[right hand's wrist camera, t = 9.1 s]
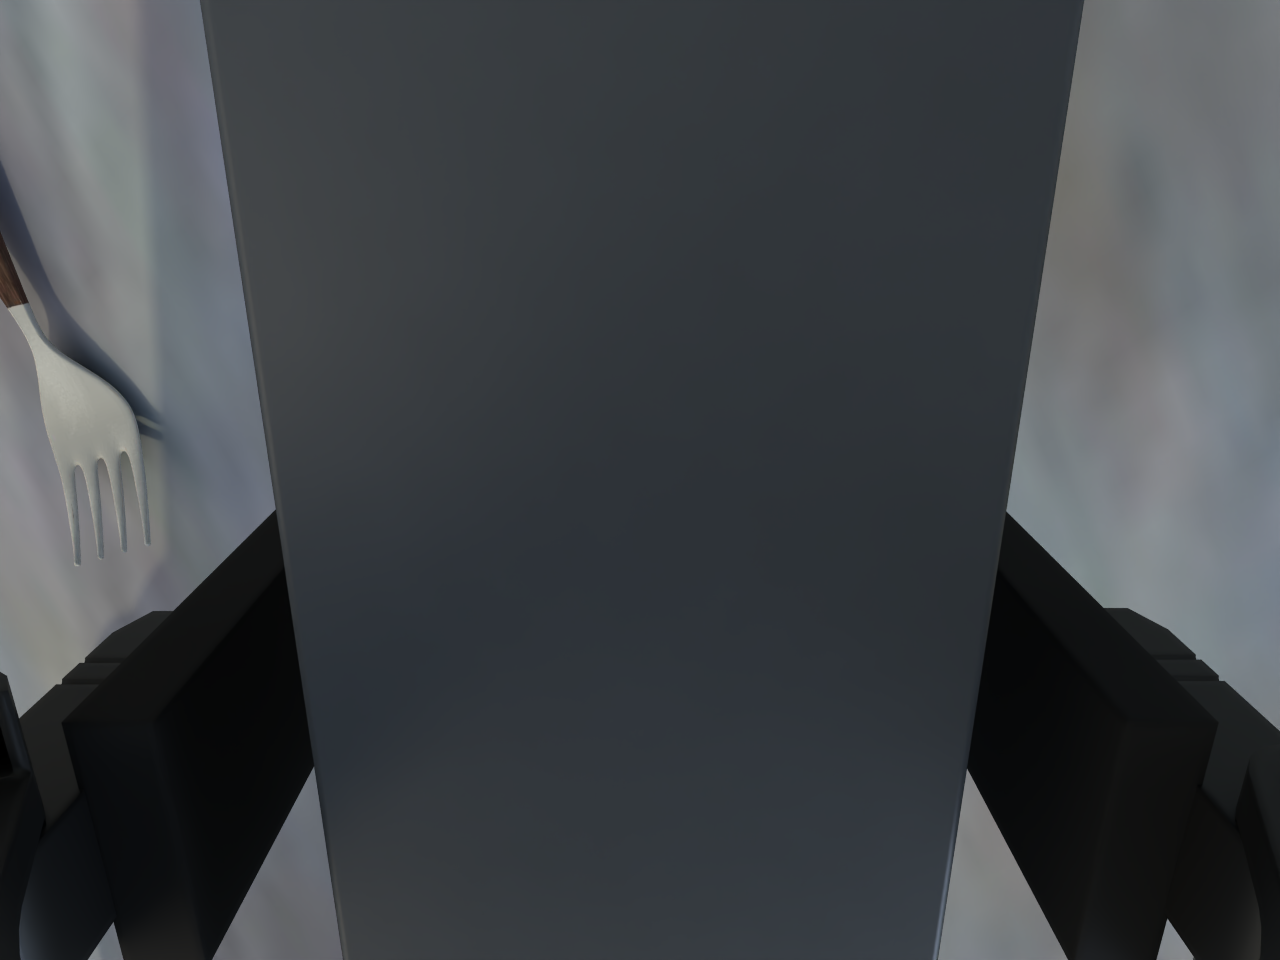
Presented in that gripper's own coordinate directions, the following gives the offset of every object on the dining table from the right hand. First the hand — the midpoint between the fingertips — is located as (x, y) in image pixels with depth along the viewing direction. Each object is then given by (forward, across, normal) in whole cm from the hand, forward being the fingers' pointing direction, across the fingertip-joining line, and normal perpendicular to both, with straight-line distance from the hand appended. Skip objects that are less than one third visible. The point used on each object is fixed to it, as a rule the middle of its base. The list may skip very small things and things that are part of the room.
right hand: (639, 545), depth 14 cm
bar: (+1, 0, -8) cm, 8 cm away
